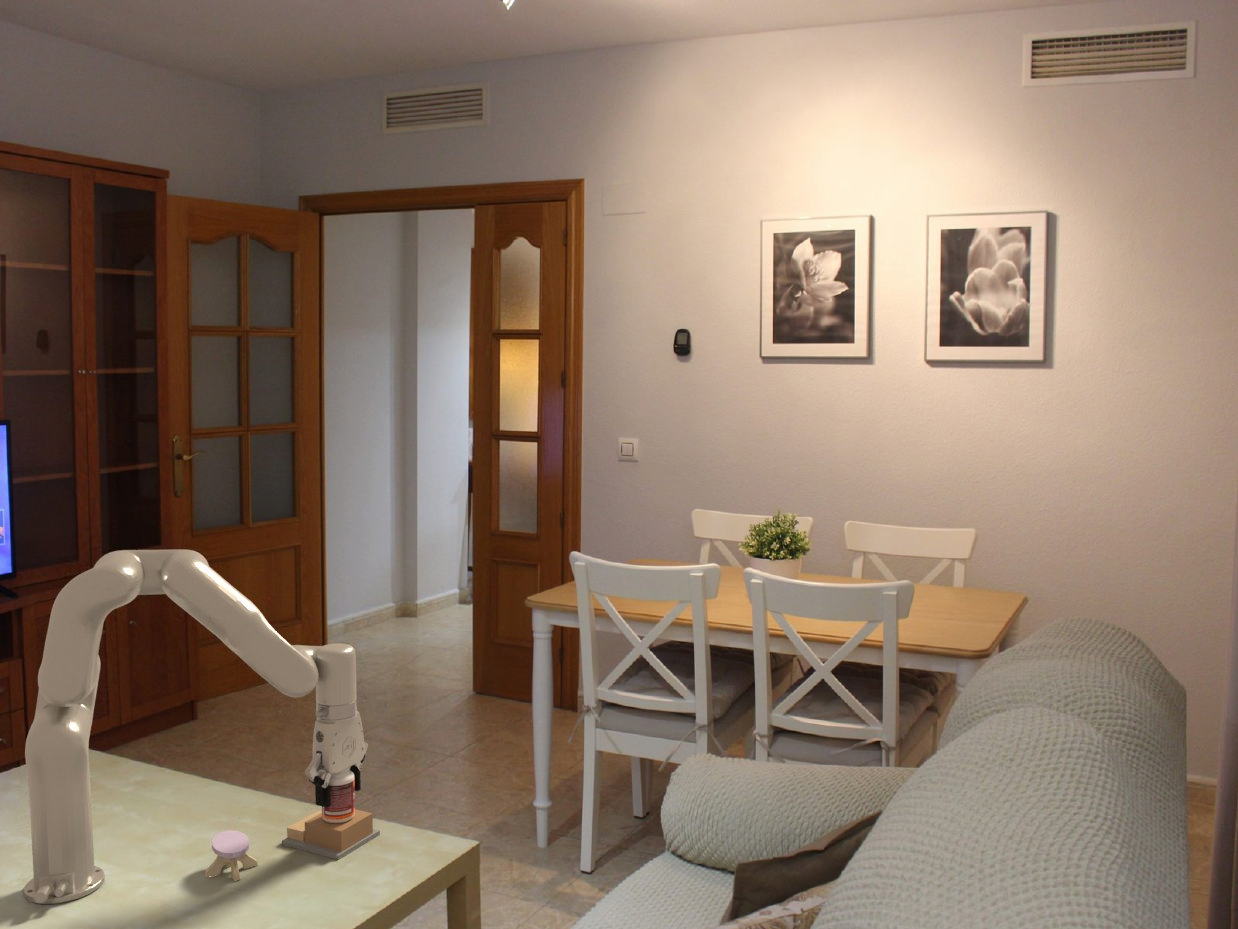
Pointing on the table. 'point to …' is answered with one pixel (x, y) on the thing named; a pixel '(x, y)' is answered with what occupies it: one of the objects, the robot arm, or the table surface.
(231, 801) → the table surface
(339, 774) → the pill bottle
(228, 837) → the toy table
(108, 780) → the table surface
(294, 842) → the stand
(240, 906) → the table surface
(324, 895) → the table surface
